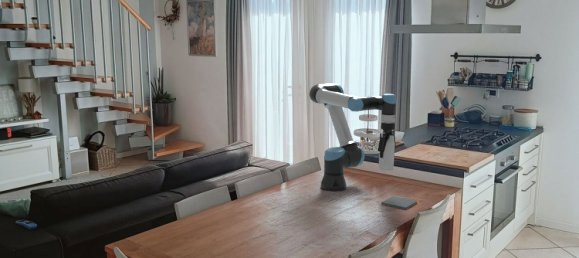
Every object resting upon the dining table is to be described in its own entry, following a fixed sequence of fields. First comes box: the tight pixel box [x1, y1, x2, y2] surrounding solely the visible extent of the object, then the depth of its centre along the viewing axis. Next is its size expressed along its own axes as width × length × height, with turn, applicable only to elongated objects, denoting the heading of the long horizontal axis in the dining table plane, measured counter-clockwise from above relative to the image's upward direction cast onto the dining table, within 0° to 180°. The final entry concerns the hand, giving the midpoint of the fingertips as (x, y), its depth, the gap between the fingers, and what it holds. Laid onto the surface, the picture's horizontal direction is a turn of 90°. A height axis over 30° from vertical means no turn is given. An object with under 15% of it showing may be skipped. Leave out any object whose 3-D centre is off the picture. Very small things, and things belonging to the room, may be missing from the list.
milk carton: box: [378, 136, 396, 171], centre depth 290 cm, size 7×7×19 cm
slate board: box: [381, 196, 418, 211], centre depth 280 cm, size 14×14×1 cm
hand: (386, 161), depth 291 cm, fingers closed on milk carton, 10 cm apart
